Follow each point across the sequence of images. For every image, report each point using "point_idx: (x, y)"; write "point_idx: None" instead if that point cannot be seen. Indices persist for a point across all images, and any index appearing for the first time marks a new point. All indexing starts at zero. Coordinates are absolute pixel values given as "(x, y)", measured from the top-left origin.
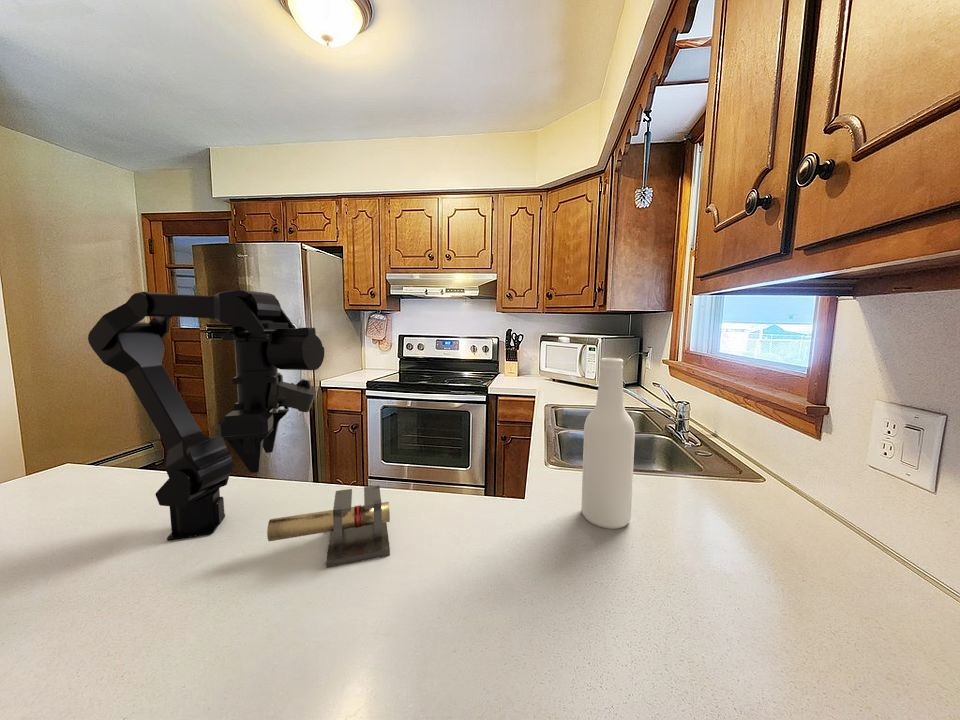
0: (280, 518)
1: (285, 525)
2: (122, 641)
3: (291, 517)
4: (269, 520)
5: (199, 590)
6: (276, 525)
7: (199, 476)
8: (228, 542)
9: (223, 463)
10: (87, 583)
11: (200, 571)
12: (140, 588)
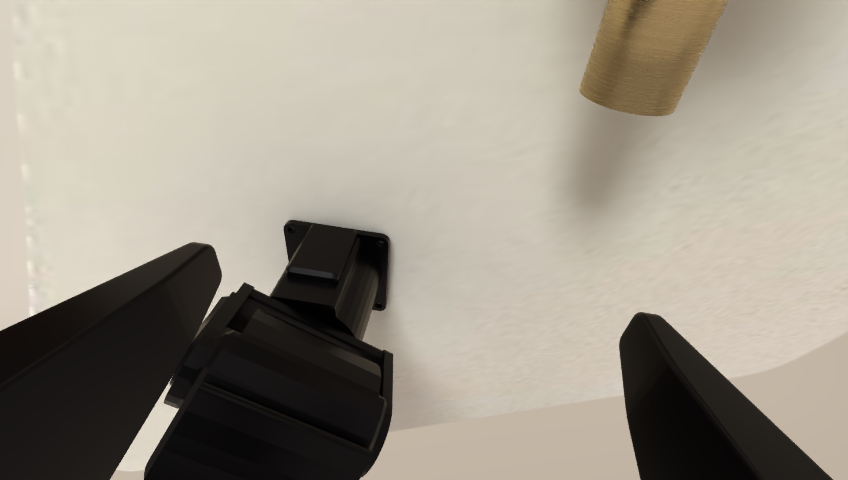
0: (656, 64)
1: (708, 32)
2: (727, 305)
3: (689, 4)
4: (639, 114)
5: (654, 223)
6: (686, 77)
7: (380, 421)
8: (447, 194)
9: (264, 382)
10: (484, 368)
11: (564, 233)
12: (557, 311)
